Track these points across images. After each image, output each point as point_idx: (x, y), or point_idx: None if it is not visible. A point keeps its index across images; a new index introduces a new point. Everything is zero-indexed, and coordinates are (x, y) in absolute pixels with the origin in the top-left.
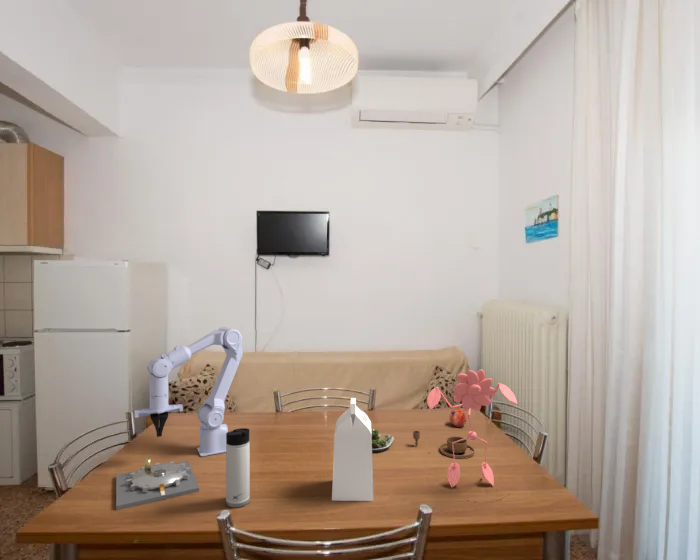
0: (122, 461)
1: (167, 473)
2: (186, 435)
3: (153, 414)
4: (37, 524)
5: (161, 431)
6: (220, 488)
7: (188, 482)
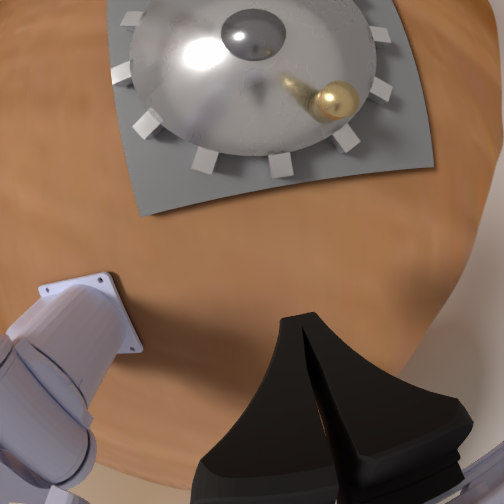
0: (406, 312)
1: (214, 31)
2: (211, 439)
3: (427, 493)
4: (488, 7)
5: (285, 338)
6: (58, 8)
7: (133, 5)
